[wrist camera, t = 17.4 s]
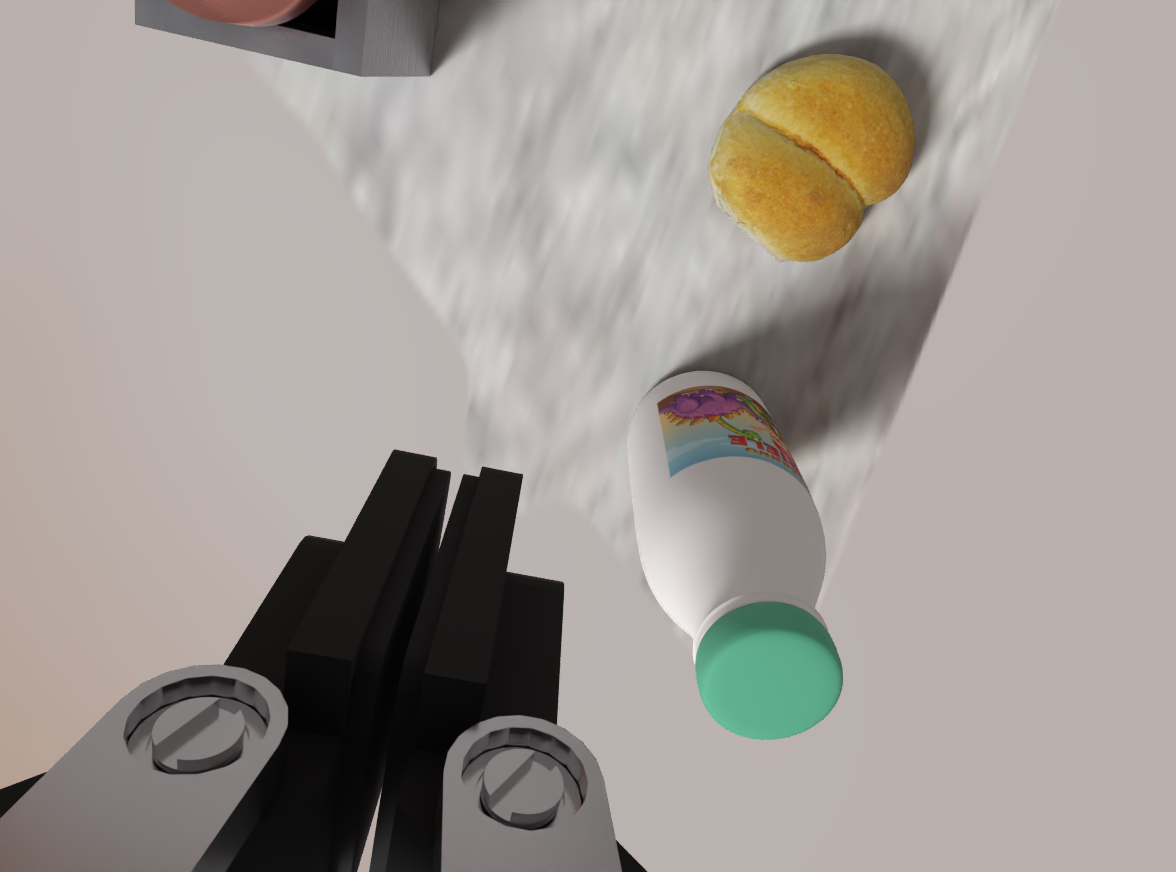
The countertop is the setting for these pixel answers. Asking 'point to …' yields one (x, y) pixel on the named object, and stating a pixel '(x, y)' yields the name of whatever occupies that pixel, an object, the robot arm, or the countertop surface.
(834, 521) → the countertop surface
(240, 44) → the column
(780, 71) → the bread roll
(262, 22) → the push button
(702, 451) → the milk bottle
